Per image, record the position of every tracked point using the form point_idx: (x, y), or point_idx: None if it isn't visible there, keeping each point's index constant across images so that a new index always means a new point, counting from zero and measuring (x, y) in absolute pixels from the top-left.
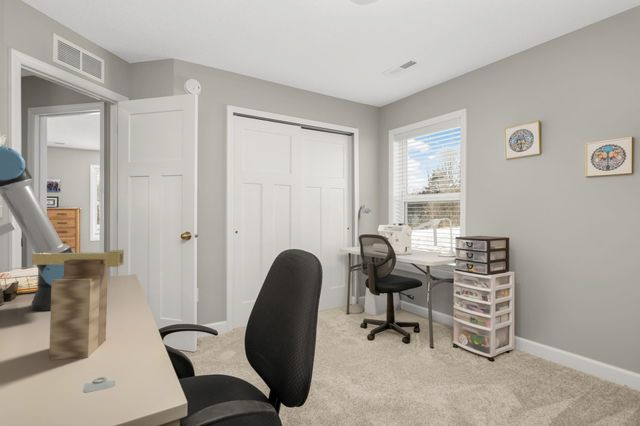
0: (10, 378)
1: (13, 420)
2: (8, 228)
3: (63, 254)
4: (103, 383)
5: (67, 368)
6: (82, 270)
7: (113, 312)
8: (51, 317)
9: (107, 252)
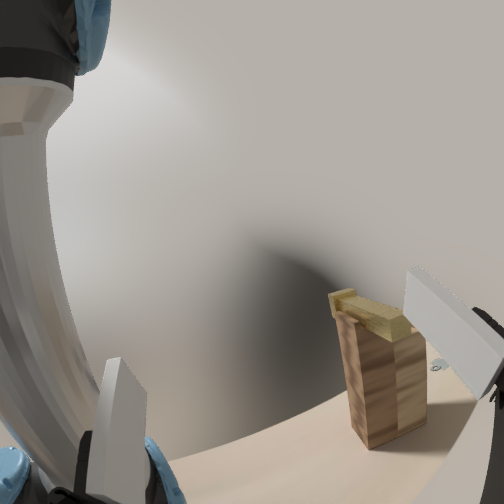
0: (471, 407)
1: None
2: (135, 406)
3: (381, 304)
4: (437, 364)
5: (432, 396)
6: None
7: (197, 486)
8: (426, 374)
9: (355, 291)
